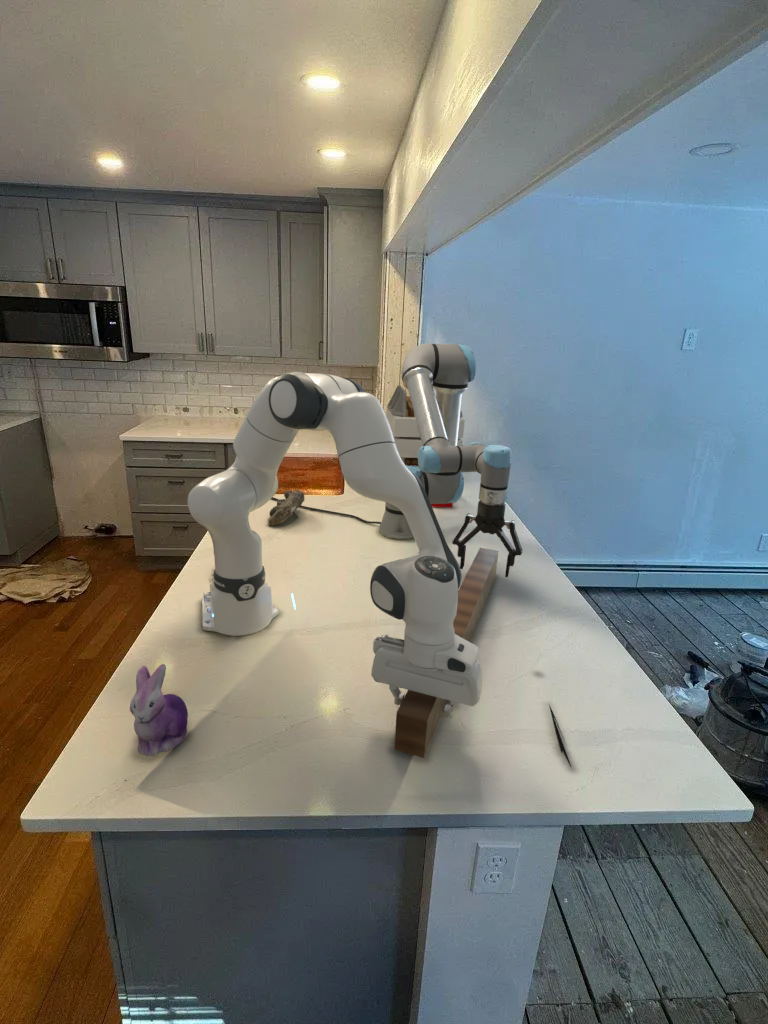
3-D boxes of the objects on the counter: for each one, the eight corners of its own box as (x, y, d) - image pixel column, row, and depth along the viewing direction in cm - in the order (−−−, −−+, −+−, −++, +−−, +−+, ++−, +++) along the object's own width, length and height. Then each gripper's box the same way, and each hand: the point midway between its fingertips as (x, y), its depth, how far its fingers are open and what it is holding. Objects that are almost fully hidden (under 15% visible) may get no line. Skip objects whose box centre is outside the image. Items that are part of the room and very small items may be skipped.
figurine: (137, 767, 96) (127, 693, 90) (132, 728, 104) (122, 659, 99) (195, 750, 100) (189, 678, 95) (185, 714, 108) (179, 646, 103)
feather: (538, 678, 126) (544, 672, 125) (570, 771, 99) (578, 764, 99) (532, 674, 126) (537, 668, 125) (563, 766, 99) (570, 759, 98)
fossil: (273, 495, 220) (302, 475, 215) (290, 514, 223) (319, 494, 218) (257, 521, 200) (288, 499, 195) (275, 541, 203) (306, 520, 198)
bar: (477, 572, 173) (480, 547, 170) (495, 575, 171) (498, 550, 169) (394, 749, 102) (396, 712, 99) (424, 758, 100) (427, 720, 98)
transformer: (382, 463, 289) (386, 382, 275) (445, 464, 293) (451, 384, 279) (390, 482, 257) (394, 392, 243) (460, 483, 261) (468, 394, 247)
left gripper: (367, 642, 101) (365, 705, 106) (481, 668, 95) (473, 735, 100) (379, 625, 107) (376, 686, 112) (487, 649, 101) (479, 712, 106)
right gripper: (445, 499, 158) (439, 568, 165) (536, 512, 150) (525, 584, 158) (451, 491, 164) (446, 558, 172) (538, 504, 157) (528, 573, 164)
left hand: (423, 709), depth 106 cm, fingers open, 8 cm apart
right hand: (484, 571), depth 165 cm, fingers open, 12 cm apart
